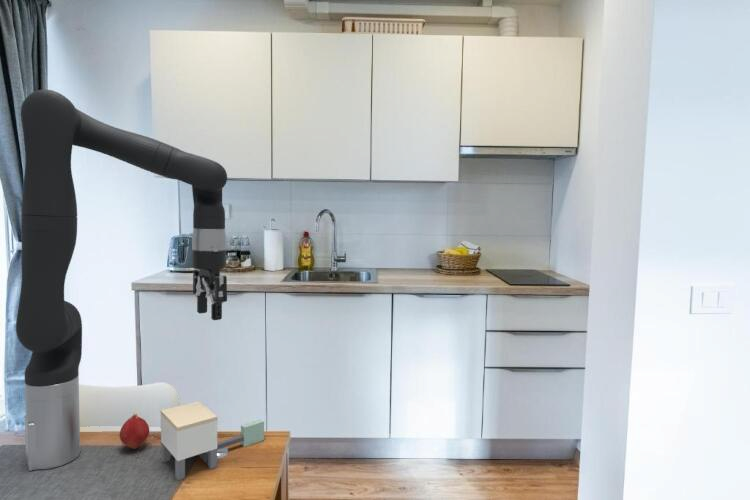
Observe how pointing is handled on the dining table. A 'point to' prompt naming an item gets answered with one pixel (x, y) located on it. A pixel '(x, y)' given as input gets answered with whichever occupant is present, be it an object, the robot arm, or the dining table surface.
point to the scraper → (242, 437)
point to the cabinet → (188, 435)
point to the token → (222, 453)
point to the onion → (134, 432)
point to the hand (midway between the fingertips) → (209, 316)
